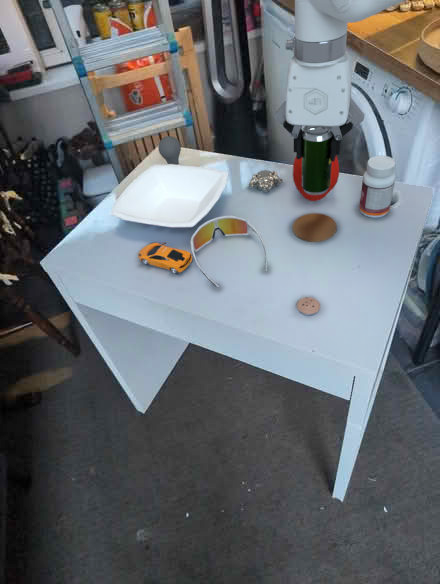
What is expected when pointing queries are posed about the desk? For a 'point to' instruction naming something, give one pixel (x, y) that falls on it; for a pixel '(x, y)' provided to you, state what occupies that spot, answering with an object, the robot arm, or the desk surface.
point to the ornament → (265, 180)
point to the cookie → (308, 305)
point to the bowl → (171, 195)
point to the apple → (298, 179)
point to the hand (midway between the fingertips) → (316, 155)
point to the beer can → (316, 159)
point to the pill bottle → (377, 186)
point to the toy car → (165, 257)
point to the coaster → (314, 227)
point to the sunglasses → (227, 228)
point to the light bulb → (170, 149)
